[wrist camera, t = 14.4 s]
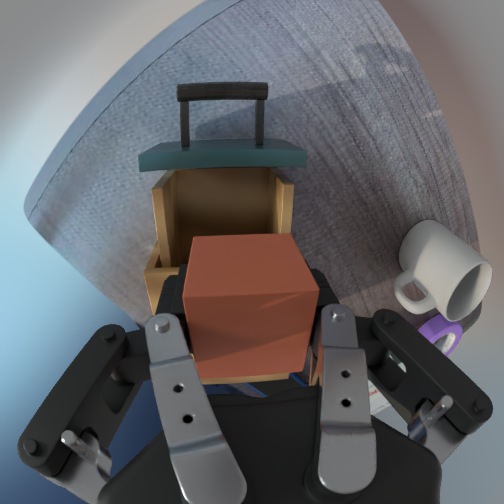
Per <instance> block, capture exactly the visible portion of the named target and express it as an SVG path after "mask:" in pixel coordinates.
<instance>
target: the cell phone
mask: <svg viewBox="0 0 504 504" xmlns="http://www.w3.org/2000/svg"><path fill="white" fill-rule="evenodd" d="M244 384H245V385H247V386H248V387H250V388H251V389H253V390H254V391H256V392H257V393H259V394H260V395H262V396H263V397H268V396H271V395H274V394H277V393H280V392H283V391H286V390H289V389H292V388H299V387H306V386H309V385H308V384H307V383H306V382H304V381H303V380H302V379H301V378H300V377H299V376H297V375H296V374H295V373H294V372H292V373H289V378H288V379H280V380H270V381H259V382H244Z"/></svg>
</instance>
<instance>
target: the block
mask: <svg viewBox="0 0 504 504" xmlns="http://www.w3.org/2000/svg"><path fill="white" fill-rule="evenodd" d="M318 295H319V287H318V285H317V283H316V281H315V279H314V277H313V275H312V273H311V271H310V269H309V268H308V266H307V264H306V262H305V260H304V258H303V256H302V254H301V252H300V250H299V248H298V246H297V245H296V243H295V241H294V239H293V237H292V235H291V234H290V233H281V234H249V235H221V236H196V237H194V238H193V242H192V247H191V252H190V257H189V263H188V268H187V273H186V279H185V284H184V290H183V296H182V297H183V303H184V309H185V315H186V320H187V326H188V331H189V336H190V341H191V346H192V351H193V356H194V360H195V365H196V368H197V371H198V374H199V376H200V378H232V377H249V376H262V375H273V374H283V373H292V372H300V371H303V368H304V363H305V359H306V355H307V350H308V346H309V341H310V336H311V331H312V327H313V322H314V317H315V311H316V306H317V301H318Z"/></svg>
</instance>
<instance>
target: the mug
mask: <svg viewBox="0 0 504 504" xmlns="http://www.w3.org/2000/svg"><path fill="white" fill-rule="evenodd" d="M399 263H400V266H401V268H402V270H403V271H404V272H402V273H401V274H400V275H398V276H397V277H396V278H395V280H394V281H393V290H394V293H395V296H396V298H397V299H398V301H399V302H400V303H401V304H402V306H403V307H404V308H405V309H406V310H408V311H409V312H411V313H413V314H422V313H425V312H427V311H429V310H431V309H433V308H435V307H436V308H437V309H438V311H439V312H440V313H441V314H442V315H443V316H444V317H445V318H446V319H447V320H448V321H451V322H454V321H458V320H461V319H463V318H464V317H466V316H467V315H469V314H470V313H471V312H472V311H473V310H474V309H475V308H476V307H477V306H478V305H479V303H480V302H481V301H482V299H483V298H484V296H485V294H486V292H487V291H488V288H489V286H490V283H491V280H492V273H493V272H492V271H493V270H492V266H491V264H490V262H489V261H488V260H487V259H485V258H484V257H483V256H482V255H481V254H479V253H478V252H477V251H476V250H474V249H473V248H472V247H471V246H469V245H468V244H467V243H465V242H464V241H463V240H461V239H460V238H459V237H457V236H456V235H455V234H453V233H452V232H451V231H450V230H448V229H447V228H446V227H444V226H443V225H442V224H440V223H439V222H437V221H435V220H424V221H421V222H419V223H418V224H416V225H415V226H414V227H412V228H411V229H410V231H409V232H408V233H407V235H406V236H405V238H404V239H403V241H402V244H401V247H400V250H399ZM410 282H414V283H415V284H416V285H417V286H418V287H419V288H420V289H421V291H422V292H423V293H424V294H425V295H426V297H425V298H424V299H423V300H421V301H417V302H416V301H412V300H410V299H409V298H407V297H406V296H405V295H404V293H403V291H402V287H403V286H404V285H406V284H408V283H410Z"/></svg>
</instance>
